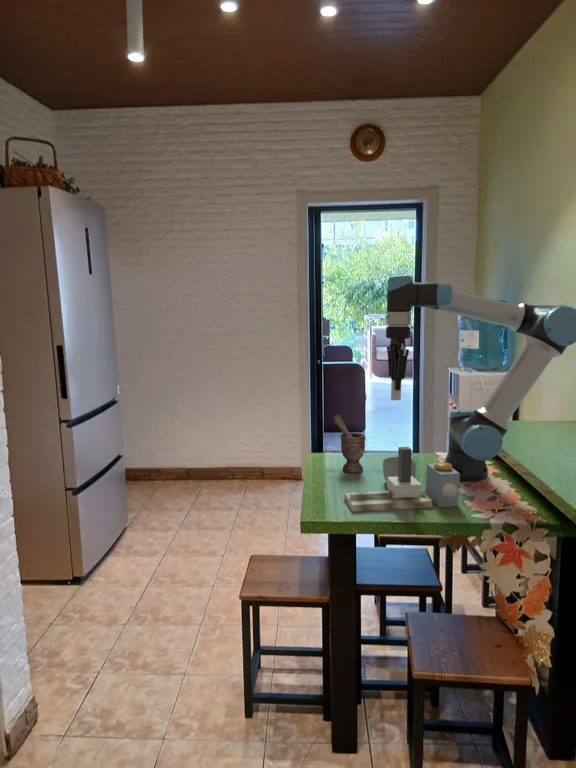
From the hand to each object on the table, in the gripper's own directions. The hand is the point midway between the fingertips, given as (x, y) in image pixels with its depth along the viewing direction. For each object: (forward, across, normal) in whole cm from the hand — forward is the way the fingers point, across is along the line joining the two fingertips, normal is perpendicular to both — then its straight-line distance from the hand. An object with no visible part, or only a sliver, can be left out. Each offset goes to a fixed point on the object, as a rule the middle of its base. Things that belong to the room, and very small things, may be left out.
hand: (395, 399), depth 170 cm
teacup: (+29, -4, +4) cm, 30 cm away
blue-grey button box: (+29, +15, +10) cm, 34 cm away
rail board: (+29, +14, -7) cm, 33 cm away
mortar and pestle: (+29, -19, -10) cm, 36 cm away
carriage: (+26, +14, -2) cm, 30 cm away
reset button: (+25, +15, +10) cm, 30 cm away
